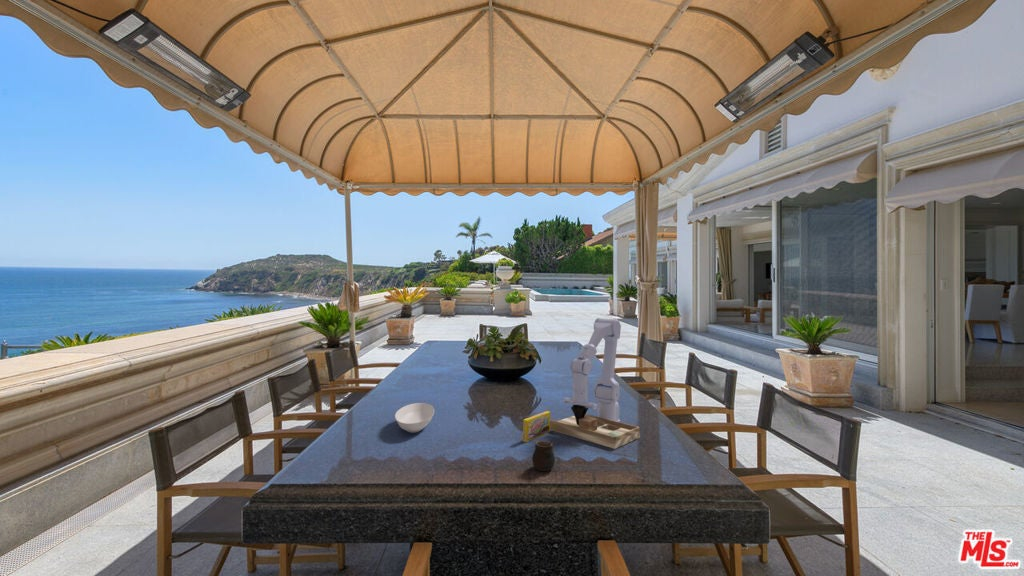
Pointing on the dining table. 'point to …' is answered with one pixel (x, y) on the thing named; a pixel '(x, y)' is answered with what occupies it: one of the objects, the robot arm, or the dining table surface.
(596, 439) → the box
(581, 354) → the robot arm
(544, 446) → the mate gourd
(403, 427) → the bowl
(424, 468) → the dining table surface
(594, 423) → the block
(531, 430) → the candy box
